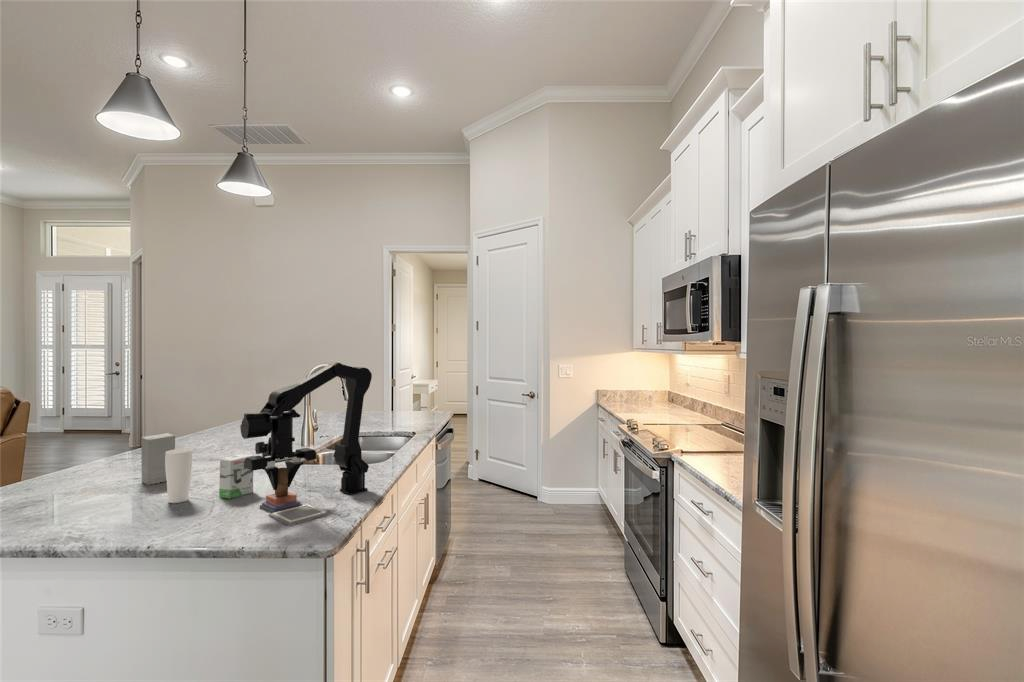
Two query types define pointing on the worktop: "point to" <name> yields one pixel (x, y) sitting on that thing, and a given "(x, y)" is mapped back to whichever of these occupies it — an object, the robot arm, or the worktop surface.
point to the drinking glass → (178, 474)
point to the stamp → (281, 491)
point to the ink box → (235, 477)
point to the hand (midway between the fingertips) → (281, 488)
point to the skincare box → (155, 457)
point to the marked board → (299, 514)
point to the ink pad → (279, 507)
